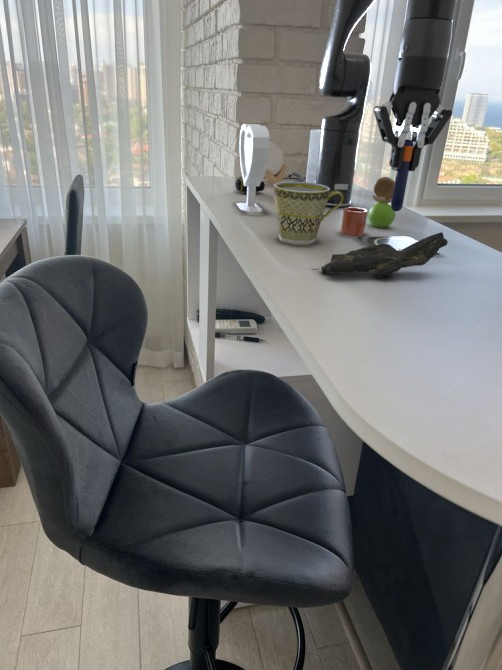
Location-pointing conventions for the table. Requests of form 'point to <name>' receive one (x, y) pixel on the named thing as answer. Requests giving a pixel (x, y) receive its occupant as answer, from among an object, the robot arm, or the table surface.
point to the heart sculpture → (253, 161)
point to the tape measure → (243, 189)
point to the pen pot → (354, 221)
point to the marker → (402, 177)
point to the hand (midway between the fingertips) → (402, 169)
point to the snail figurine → (382, 203)
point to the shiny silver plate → (390, 241)
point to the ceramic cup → (301, 210)
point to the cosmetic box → (313, 156)
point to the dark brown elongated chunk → (386, 257)
